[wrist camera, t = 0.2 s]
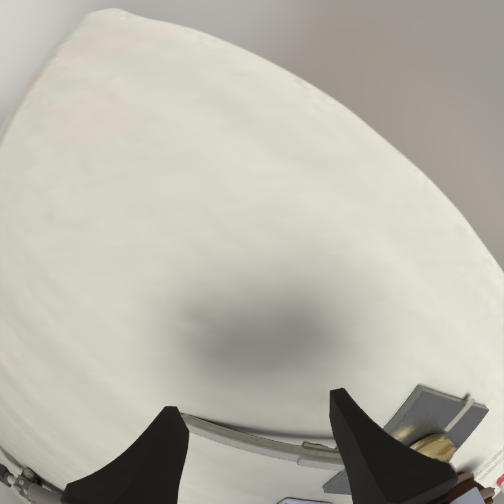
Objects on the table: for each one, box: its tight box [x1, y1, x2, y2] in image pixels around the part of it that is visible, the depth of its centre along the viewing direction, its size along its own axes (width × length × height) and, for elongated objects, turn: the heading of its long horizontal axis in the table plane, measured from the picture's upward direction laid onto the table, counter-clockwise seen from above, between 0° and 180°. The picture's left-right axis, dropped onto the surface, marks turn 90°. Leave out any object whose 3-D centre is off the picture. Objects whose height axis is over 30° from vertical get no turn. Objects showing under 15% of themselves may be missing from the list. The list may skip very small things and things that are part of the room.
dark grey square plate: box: [323, 385, 489, 495], centre depth 22 cm, size 19×19×1 cm
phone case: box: [474, 447, 504, 483], centre depth 23 cm, size 7×1×15 cm
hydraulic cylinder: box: [0, 464, 62, 504], centre depth 23 cm, size 7×36×10 cm, turn 84°
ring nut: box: [410, 433, 458, 473], centre depth 19 cm, size 14×9×3 cm, turn 53°
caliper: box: [180, 413, 348, 478], centre depth 19 cm, size 21×1×6 cm, turn 79°
